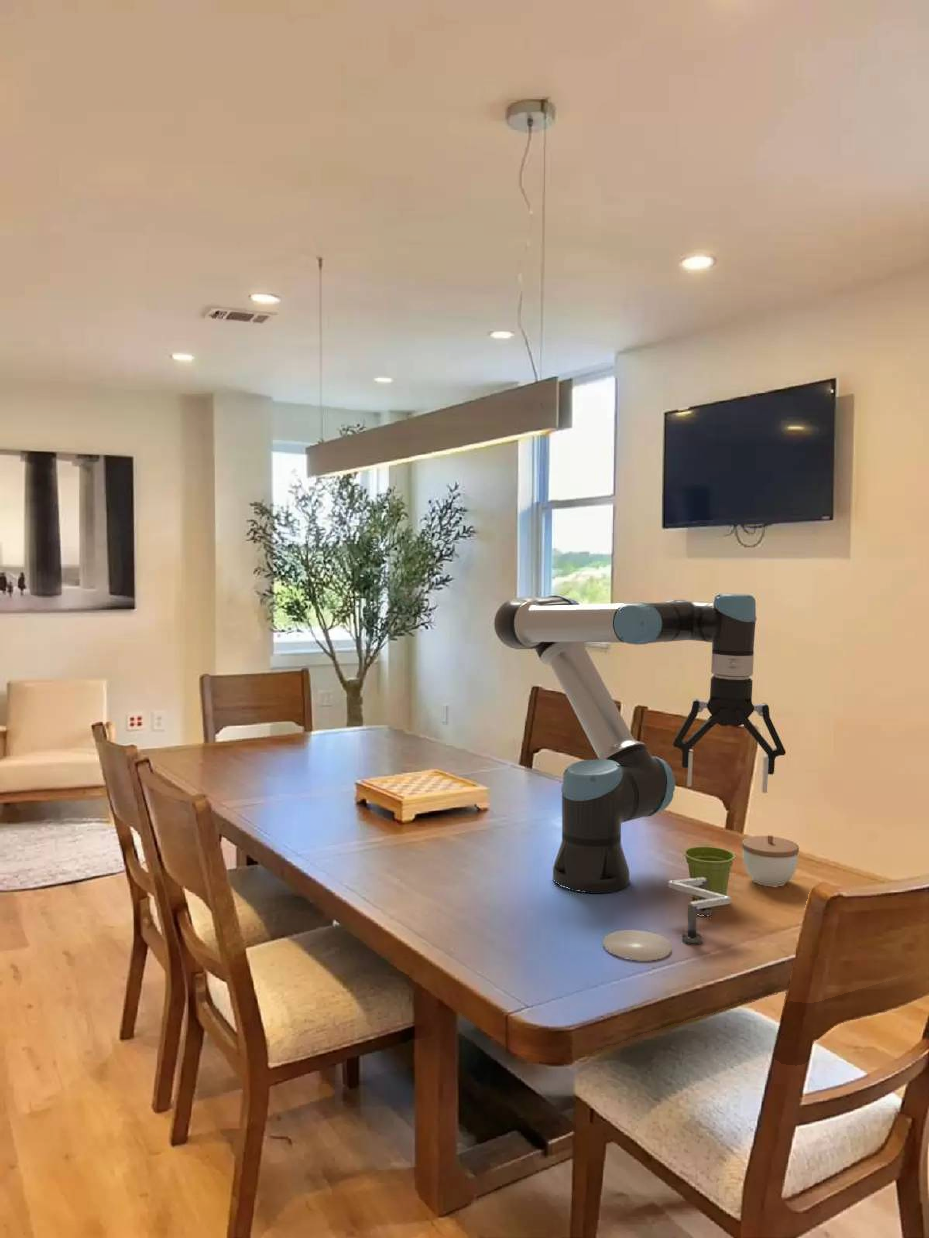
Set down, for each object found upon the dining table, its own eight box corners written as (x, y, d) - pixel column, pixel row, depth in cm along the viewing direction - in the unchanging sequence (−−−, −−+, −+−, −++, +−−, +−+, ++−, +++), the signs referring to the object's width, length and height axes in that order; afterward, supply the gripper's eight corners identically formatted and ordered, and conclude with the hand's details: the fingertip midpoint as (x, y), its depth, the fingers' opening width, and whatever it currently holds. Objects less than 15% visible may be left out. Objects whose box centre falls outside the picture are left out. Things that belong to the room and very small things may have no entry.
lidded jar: (761, 893, 174) (763, 845, 174) (730, 875, 185) (731, 830, 184) (809, 888, 177) (810, 841, 177) (776, 870, 188) (777, 826, 187)
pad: (596, 954, 147) (596, 950, 147) (611, 929, 157) (611, 925, 157) (664, 965, 143) (665, 962, 143) (676, 939, 153) (676, 935, 153)
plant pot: (675, 901, 170) (676, 855, 170) (693, 886, 178) (693, 842, 178) (725, 911, 165) (726, 864, 165) (740, 896, 173) (741, 851, 173)
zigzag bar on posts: (656, 938, 153) (657, 900, 153) (672, 905, 168) (673, 870, 168) (725, 949, 149) (726, 910, 148) (735, 914, 164) (736, 878, 163)
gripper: (662, 675, 169) (658, 787, 171) (804, 683, 163) (798, 798, 165) (664, 670, 176) (659, 777, 178) (800, 677, 170) (794, 788, 172)
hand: (726, 787), depth 172 cm, fingers open, 13 cm apart
